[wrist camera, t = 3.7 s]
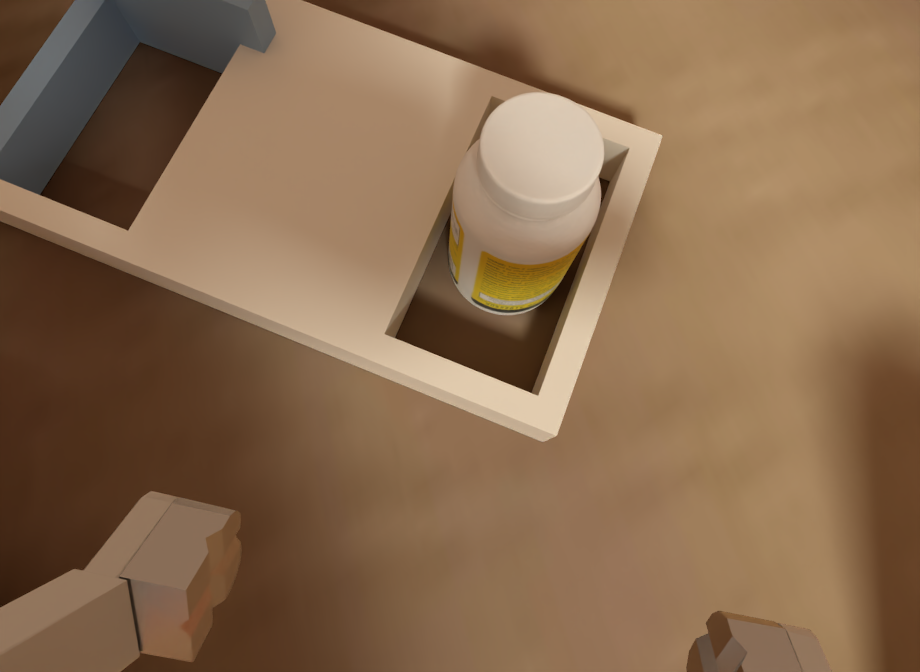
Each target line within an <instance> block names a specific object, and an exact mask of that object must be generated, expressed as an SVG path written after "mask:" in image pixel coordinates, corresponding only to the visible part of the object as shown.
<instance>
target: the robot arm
mask: <svg viewBox="0 0 920 672" xmlns="http://www.w3.org/2000/svg"><path fill="white" fill-rule="evenodd" d="M240 526H241V517H240V512H239V511H236V510H232V509H228V508H223V507H219V506H215V505H211V504H207V503H202V502H198V501H194V500H190V499H186V498H181V497H177V496H172V495H168V494H163V493H159V492H154V491H150V492H148V493H147V494H146V495H144V496H143V497H141V498H140V499H139V501H138V502H137V503H136V504H135V506H134V507H133V508H132V509H131V511H130V512H129V513H128V515H127V516H126V517H125V518H124V520H123V521H122V522H121V523H120V525H119V526H118V527H117V528H116V530H115V531H114V532H113V533H112V535H111V536H110V537H109V538H108V540H107V541H106V542H105V544H104V545H103V546H102V547H101V549H100V550H99V551H98V552H97V554H96V555H95V556H94V557H93V559H92V560H91V561H90V562H89V564H88V565H87V566H86V568H85V569H84V570H78V569H73V570H71V571H69V572H67V573H65V574H63V575H61V576H59V577H57V578H55V579H54V580H52V581H50V582H48V583H46V584H44V585H42V586H40V587H38V588H36V589H35V590H33V591H31V592H29V593H27V594H25V595H23V596H21V597H19V598H17V599H15V600H14V601H12V602H10V603H8V604H6V605H4V606H2V607H0V672H121V671H122V670H123V669H124V668H126V667H127V666H128V665H130V664H131V663H132V662H133V661H135V660H136V659H137V658H139V657H140V653H144V654H150V655H155V656H161V657H166V658H172V659H177V660H183V661H188V662H194V660H195V658H196V656H197V654H198V652H199V650H200V648H201V646H202V644H203V642H204V641H205V639H206V637H207V635H208V633H209V631H210V629H211V627H212V625H213V612H212V608H213V607H215V606H217V605H218V604H220V603H221V602H223V601H224V600H226V598H227V596H228V594H229V592H230V590H231V588H232V586H233V584H234V581H235V578H236V575H237V572H238V569H239V566H240V560H241V554H242V543H241V542H240V541H239V540H238V538H237V537H236V534H237V532H238V530H239V528H240ZM706 625H707V629H708V634H706V635H704V636H701V637H699V638H697V639H696V640H695V641H694V643H693V645H692V647H691V649H690V650H689V655H688V661H687V667H686V668H687V672H832V670H831V668H830V666H829V664H828V661H827V659H826V657H825V655H824V652H823V650H822V648H821V646H820V643H819V641H818V639H817V637H816V636H815V635H814V634H813V633H812V631H811V630H809V629H805V628H800V627H795V626H790V625H786V624H781V623H776V622H774V621H769V620H764V619H759V618H754V617H749V616H744V615H739V614H733V613H728V612H723V611H717V612H715V613H713V614H711V616H710V618H709V619H708V621H707V622H706Z"/></svg>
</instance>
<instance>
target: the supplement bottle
mask: <svg viewBox="0 0 920 672" xmlns="http://www.w3.org/2000/svg"><path fill="white" fill-rule="evenodd" d="M603 161H604V142H603V138H602V135H601V132H600V130H599V128H598V126H597V124H596V123H595V121H594V119H593V118H592V117H591V116H590V114H589V113H588V112H587V111H585V110H584V109H583V108H582V107H581V106H579V105H578V104H577V103H575V102H573V101H571V100H570V99H567V98H565V97H562V96H560V95H557V94H552V93H546V92H531V93H525V94H520V95H518V96H515V97H512V98H510V99H508V100H506V101H505V102H503V103H502V104H500V105H499V106H498V107H497V108H496V109H494V111H493V112H492V113H491V114H490V115H489V117H488V118H487V120H486V122H485V124H484V126H483V128H482V131H481V135H480V139H479V140H477V141H476V142H475V143H474V144H473V145H472V146H471V147H470V149H469V150H468V151H467V152H466V154H465V155H464V157H463V158H462V160H461V162H460V164H459V166H458V169H457V172H456V176H455V180H454V186H453V199H452V210H451V224H450V236H449V250H448V263H449V270H450V274H451V277H452V279H453V282H454V284H455V286H456V287H457V289H458V290H459V292H460V293H461V294H462V295H463V296H464V297H465V298H466V299H467V300H468V301H469V302H470V303H472V304H473V305H475V306H476V307H478V308H480V309H482V310H484V311H487V312H490V313H494V314H499V315H516V314H521V313H524V312H527V311H530V310H532V309H534V308H536V307H538V306H539V305H541V304H542V303H543V302H545V301H546V300H547V299H548V298H549V297H550V296H551V294H552V293H553V292H554V291H555V289H556V288H557V287H558V285H559V284H560V282H561V281H562V279H563V277H564V275H565V274H566V272H567V270H568V269H569V267H570V265H571V264H572V262H573V260H574V259H575V257H576V255H577V254H578V252H579V250H580V249H581V247H582V245H583V244H584V242H585V240H586V239H587V237H588V235H589V234H590V232H591V230H592V228H593V226H594V224H595V222H596V219H597V216H598V213H599V209H600V204H601V186H600V181H599V176H598V175H599V173H600V171H601V169H602V165H603Z"/></svg>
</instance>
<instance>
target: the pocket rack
mask: <svg viewBox="0 0 920 672" xmlns="http://www.w3.org/2000/svg"><path fill="white" fill-rule="evenodd" d="M140 42H141V43H144V44H147V45H149V46H152V47H154V48H157V49H160V50H162V51H165V52H167V53H170V54H173V55H175V56H178V57H180V58H183V59H186V60H188V61H191V62H193V63H196V64H199V65H201V66H204V67H206V68H209V69H212V70H214V71H217V72H219V73H222V75H221V77H220V79H219V80H218V82H217V84H216V85H215V87H214V89H213V90H212V92H211V94H210V95H209V97H208V99H207V100H206V102H205V104H204V105H203V107H202V109H201V110H200V112H199V114H198V115H197V117H196V119H195V120H194V122H193V124H192V125H191V127H190V129H189V130H188V132H187V134H186V135H185V137H184V139H183V140H182V142H181V144H180V145H179V147H178V149H177V150H176V152H175V154H174V155H173V157H172V159H171V160H170V162H169V164H168V165H167V167H166V169H165V170H164V172H163V174H162V175H161V177H160V179H159V180H158V182H157V184H156V185H155V187H154V189H153V190H152V192H151V194H150V195H149V197H148V199H147V200H146V202H145V204H144V205H143V207H142V209H141V210H140V212H139V214H138V215H137V217H136V219H135V220H134V222H133V224H132V225H131V227H130V229H129V230H125V229H123V228H120V227H118V226H115V225H113V224H110V223H108V222H105V221H103V220H100V219H98V218H95V217H93V216H90V215H88V214H85V213H83V212H80V211H78V210H75V209H73V208H70V207H68V206H66V205H63V204H61V203H58V202H56V201H53V200H51V199H48V198H46V197H43V196H41V195H40V194H41V192H42V191H43V189H44V188H45V186H46V185H47V183H48V182H49V180H50V179H51V177H52V175H53V174H54V172H55V171H56V169H57V168H58V166H59V165H60V163H61V162H62V160H63V159H64V157H65V156H66V154H67V153H68V151H69V150H70V148H71V147H72V145H73V143H74V142H75V140H76V139H77V137H78V136H79V134H80V133H81V131H82V130H83V128H84V127H85V125H86V124H87V122H88V121H89V119H90V118H91V116H92V114H93V113H94V111H95V110H96V108H97V107H98V105H99V104H100V102H101V101H102V99H103V98H104V96H105V95H106V93H107V92H108V90H109V89H110V87H111V85H112V84H113V82H114V81H115V79H116V78H117V76H118V75H119V73H120V72H121V70H122V69H123V67H124V66H125V64H126V63H127V61H128V60H129V58H130V56H131V55H132V53H133V52H134V50H135V49H136V47H137V46H138V44H139V43H140ZM531 92H545V91H543V90H540V89H537V88H535V87H532V86H529V85H527V84H524V83H521V82H519V81H516V80H513V79H511V78H508V77H505V76H503V75H500V74H497V73H495V72H492V71H489V70H487V69H484V68H481V67H479V66H476V65H473V64H471V63H468V62H465V61H463V60H460V59H457V58H455V57H452V56H449V55H447V54H444V53H441V52H439V51H436V50H433V49H431V48H428V47H425V46H423V45H420V44H417V43H415V42H412V41H409V40H407V39H404V38H401V37H399V36H396V35H393V34H391V33H388V32H385V31H383V30H380V29H377V28H375V27H372V26H369V25H367V24H364V23H361V22H359V21H356V20H353V19H351V18H348V17H345V16H343V15H340V14H337V13H335V12H332V11H329V10H327V9H324V8H321V7H319V6H316V5H313V4H311V3H308V2H305V1H303V0H75V1H74V2H73V4H72V5H71V6H70V8H69V9H68V11H67V12H66V13H65V15H64V16H63V18H62V19H61V20H60V22H59V23H58V25H57V26H56V28H55V29H54V30H53V32H52V33H51V35H50V36H49V37H48V39H47V40H46V42H45V43H44V45H43V46H42V47H41V49H40V50H39V52H38V53H37V54H36V56H35V57H34V59H33V60H32V62H31V63H30V64H29V66H28V67H27V69H26V70H25V71H24V73H23V74H22V76H21V77H20V79H19V80H18V81H17V83H16V84H15V86H14V87H13V88H12V90H11V91H10V93H9V94H8V96H7V97H6V98H5V100H4V101H3V103H2V104H1V105H0V221H1V222H3V223H6V224H8V225H11V226H13V227H16V228H18V229H21V230H23V231H25V232H28V233H30V234H33V235H35V236H38V237H40V238H43V239H45V240H48V241H50V242H53V243H55V244H57V245H60V246H62V247H65V248H67V249H70V250H72V251H75V252H77V253H80V254H82V255H84V256H87V257H89V258H92V259H94V260H97V261H99V262H102V263H104V264H107V265H109V266H111V267H114V268H116V269H119V270H121V271H124V272H126V273H129V274H131V275H134V276H136V277H139V278H141V279H143V280H146V281H148V282H151V283H153V284H156V285H158V286H161V287H163V288H166V289H168V290H170V291H173V292H175V293H178V294H180V295H183V296H185V297H188V298H190V299H193V300H195V301H197V302H200V303H202V304H205V305H207V306H210V307H212V308H215V309H217V310H220V311H222V312H225V313H227V314H229V315H232V316H234V317H237V318H239V319H242V320H244V321H247V322H249V323H252V324H254V325H256V326H259V327H261V328H264V329H266V330H269V331H271V332H274V333H276V334H279V335H281V336H283V337H286V338H288V339H291V340H293V341H296V342H298V343H301V344H303V345H306V346H308V347H311V348H313V349H315V350H318V351H320V352H323V353H325V354H328V355H330V356H333V357H335V358H338V359H340V360H342V361H345V362H347V363H350V364H352V365H355V366H357V367H360V368H362V369H365V370H367V371H369V372H372V373H374V374H377V375H379V376H382V377H384V378H387V379H389V380H392V381H394V382H397V383H399V384H401V385H404V386H406V387H409V388H411V389H414V390H416V391H419V392H421V393H424V394H426V395H428V396H431V397H433V398H436V399H438V400H441V401H443V402H446V403H448V404H451V405H453V406H455V407H458V408H460V409H463V410H465V411H468V412H470V413H473V414H475V415H478V416H480V417H483V418H485V419H487V420H490V421H492V422H495V423H497V424H500V425H502V426H505V427H507V428H510V429H512V430H514V431H517V432H519V433H522V434H524V435H527V436H529V437H532V438H534V439H537V440H539V441H541V442H544V441H546V440H548V439H551V438H553V437H555V436H557V433H558V431H559V428H560V425H561V422H562V419H563V416H564V414H565V411H566V408H567V405H568V402H569V399H570V397H571V394H572V391H573V388H574V385H575V383H576V380H577V377H578V374H579V371H580V368H581V366H582V363H583V360H584V357H585V354H586V351H587V349H588V346H589V343H590V340H591V337H592V334H593V332H594V329H595V326H596V323H597V320H598V318H599V315H600V312H601V309H602V306H603V303H604V301H605V298H606V295H607V292H608V289H609V286H610V284H611V281H612V278H613V275H614V272H615V269H616V267H617V264H618V261H619V258H620V255H621V253H622V250H623V247H624V244H625V241H626V238H627V236H628V233H629V230H630V227H631V224H632V221H633V219H634V216H635V213H636V210H637V207H638V204H639V202H640V199H641V196H642V193H643V190H644V188H645V185H646V182H647V179H648V176H649V173H650V171H651V168H652V165H653V162H654V159H655V156H656V154H657V151H658V148H659V145H660V142H661V139H662V137H663V135H660V134H657V133H655V132H652V131H649V130H647V129H644V128H641V127H639V126H636V125H633V124H631V123H628V122H625V121H623V120H620V119H617V118H615V117H612V116H609V115H607V114H604V113H601V112H599V111H596V110H593V109H591V108H588V107H585V106H583V105H580V104H578V105H579V106H581V107H582V108H583V109H584V110H585V111H587V112H588V113H589V114H590V116H591V117H592V118H593V119H594V121H595V123H596V124H597V126H598V128H599V130H600V132H601V135H602V138H603V142H604V161H603V165H602V169H601V171H600V173H599V175H598V176H599V178H602V179H604V180H607V181H610V183H609V186H608V188H607V191H606V194H605V197H604V199H603V202H602V205H601V207H600V210H599V213H598V216H597V219H596V222H595V224H594V226H593V229H592V231H591V234H590V237H589V239H588V242H587V245H586V248H585V250H584V253H583V256H582V258H581V261H580V264H579V266H578V269H577V272H576V274H575V277H574V280H573V282H572V285H571V288H570V291H569V293H568V296H567V299H566V301H565V304H564V307H563V309H562V312H561V315H560V317H559V320H558V323H557V325H556V328H555V331H554V334H553V336H552V339H551V342H550V344H549V347H548V350H547V352H546V355H545V358H544V360H543V363H542V366H541V368H540V371H539V374H538V377H537V379H536V382H535V385H534V387H533V390H532V393H530V392H527V391H525V390H522V389H520V388H517V387H515V386H512V385H510V384H507V383H505V382H502V381H500V380H497V379H495V378H492V377H490V376H487V375H485V374H482V373H480V372H477V371H475V370H473V369H470V368H468V367H465V366H463V365H460V364H458V363H455V362H453V361H450V360H448V359H445V358H443V357H440V356H438V355H435V354H433V353H430V352H428V351H425V350H423V349H420V348H418V347H415V346H413V345H410V344H408V343H406V342H403V341H401V340H398V339H396V338H395V337H396V335H397V332H398V330H399V328H400V326H401V323H402V321H403V319H404V317H405V314H406V312H407V310H408V308H409V305H410V303H411V301H412V299H413V296H414V294H415V292H416V290H417V288H418V285H419V283H420V281H421V279H422V276H423V274H424V272H425V270H426V267H427V265H428V263H429V261H430V258H431V256H432V254H433V252H434V249H435V247H436V245H437V243H438V240H439V238H440V236H441V234H442V231H443V229H444V227H445V225H446V222H447V220H448V218H449V216H450V213H451V210H452V199H453V186H454V180H455V176H456V172H457V169H458V166H459V164H460V162H461V160H462V158H463V157H464V155H465V154H466V152H467V151H468V150H469V149H470V147H471V146H472V145H473V144H474V143H475V142H476V141H477V140H479V139H480V135H481V131H482V128H483V126H484V124H485V122H486V120H487V118H488V117H489V115H490V114H491V113H492V112H493V111H494V109H496V108H497V107H498V106H499V105H500V104H502V103H503V102H505V101H506V100H508V99H510V98H512V97H515V96H518V95H520V94H525V93H531ZM546 93H548V92H546Z"/></svg>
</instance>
